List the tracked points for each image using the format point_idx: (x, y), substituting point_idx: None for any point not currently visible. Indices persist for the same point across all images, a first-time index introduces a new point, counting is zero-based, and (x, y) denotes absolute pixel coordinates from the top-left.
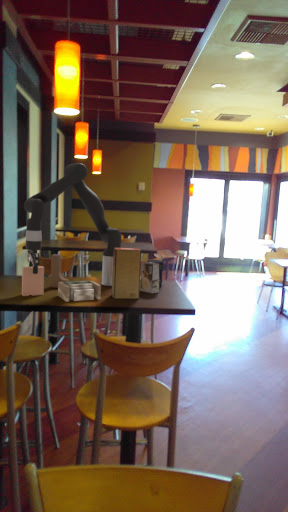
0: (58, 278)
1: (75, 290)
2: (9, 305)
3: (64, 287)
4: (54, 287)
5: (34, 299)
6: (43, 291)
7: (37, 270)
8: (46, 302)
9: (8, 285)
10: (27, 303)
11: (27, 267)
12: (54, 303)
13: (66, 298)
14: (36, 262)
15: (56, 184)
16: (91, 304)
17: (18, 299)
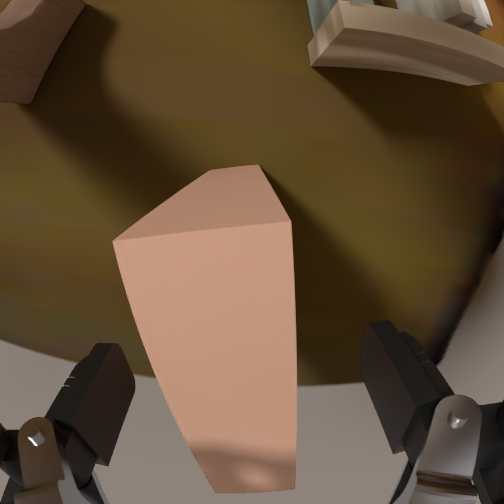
0: (15, 37)
1: (487, 16)
2: (435, 359)
3: (494, 68)
4: (42, 77)
5: (383, 248)
6: (259, 166)
7: (406, 349)
8: (460, 194)
9: (16, 332)
10: (443, 292)
11: (273, 471)
12: (483, 159)
13: (479, 83)
14: (410, 484)
15: None
16: (500, 15)
17: (352, 332)
